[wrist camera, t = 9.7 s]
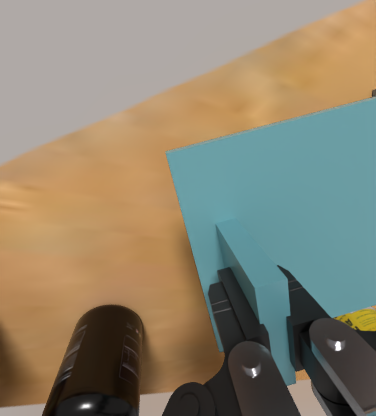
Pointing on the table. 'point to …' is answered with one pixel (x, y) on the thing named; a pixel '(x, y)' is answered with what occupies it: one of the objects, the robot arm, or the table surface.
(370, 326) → the supplement bottle
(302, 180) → the teal lid
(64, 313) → the table surface
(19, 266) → the table surface
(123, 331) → the supplement bottle
